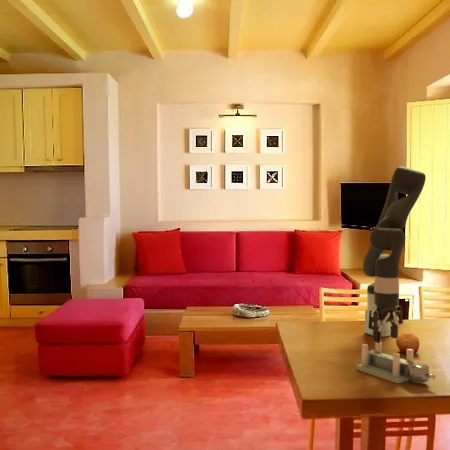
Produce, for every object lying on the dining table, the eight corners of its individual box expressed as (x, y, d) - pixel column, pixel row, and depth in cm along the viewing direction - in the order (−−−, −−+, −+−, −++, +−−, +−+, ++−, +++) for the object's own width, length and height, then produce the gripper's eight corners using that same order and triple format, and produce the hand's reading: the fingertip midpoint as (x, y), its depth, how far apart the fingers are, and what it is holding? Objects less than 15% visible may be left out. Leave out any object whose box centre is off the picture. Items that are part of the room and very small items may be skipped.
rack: (356, 369, 166) (357, 344, 165) (376, 363, 172) (376, 339, 171) (398, 383, 153) (398, 356, 152) (418, 376, 159) (418, 350, 158)
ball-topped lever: (363, 364, 166) (363, 352, 166) (374, 360, 170) (374, 349, 169) (428, 386, 147) (428, 372, 147) (439, 381, 150) (440, 368, 150)
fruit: (418, 345, 187) (419, 329, 183) (419, 361, 181) (419, 346, 177) (395, 343, 190) (396, 328, 186) (395, 359, 184) (395, 344, 180)
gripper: (382, 295, 154) (381, 347, 155) (410, 289, 162) (409, 339, 163) (362, 291, 160) (361, 341, 161) (390, 286, 168) (389, 333, 169)
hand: (385, 339), depth 162 cm, fingers open, 8 cm apart
